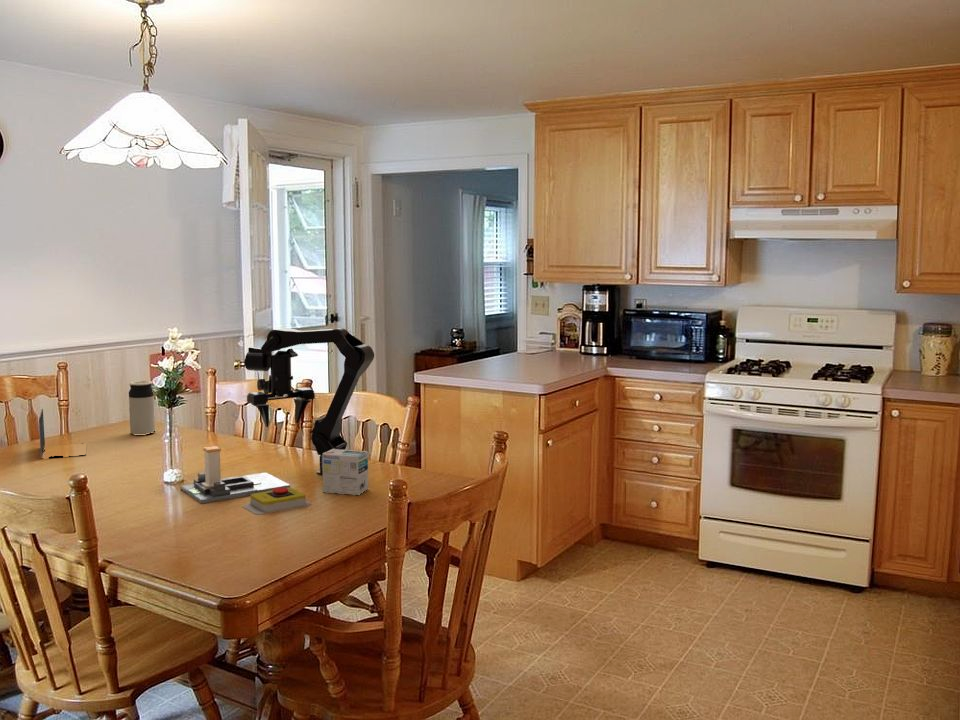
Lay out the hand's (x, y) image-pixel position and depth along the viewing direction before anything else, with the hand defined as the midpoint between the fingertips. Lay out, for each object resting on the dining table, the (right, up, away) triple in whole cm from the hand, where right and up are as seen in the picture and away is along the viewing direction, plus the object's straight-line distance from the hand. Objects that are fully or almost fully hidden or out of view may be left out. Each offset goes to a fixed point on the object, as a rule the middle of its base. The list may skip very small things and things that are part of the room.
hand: (281, 425), depth 246 cm
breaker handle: (-13, -15, -23) cm, 30 cm away
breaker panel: (-8, -16, -20) cm, 26 cm away
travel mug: (-59, -7, +47) cm, 76 cm away
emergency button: (+7, -18, -34) cm, 39 cm away
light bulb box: (+22, -16, -21) cm, 34 cm away
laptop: (-73, -10, +21) cm, 77 cm away
